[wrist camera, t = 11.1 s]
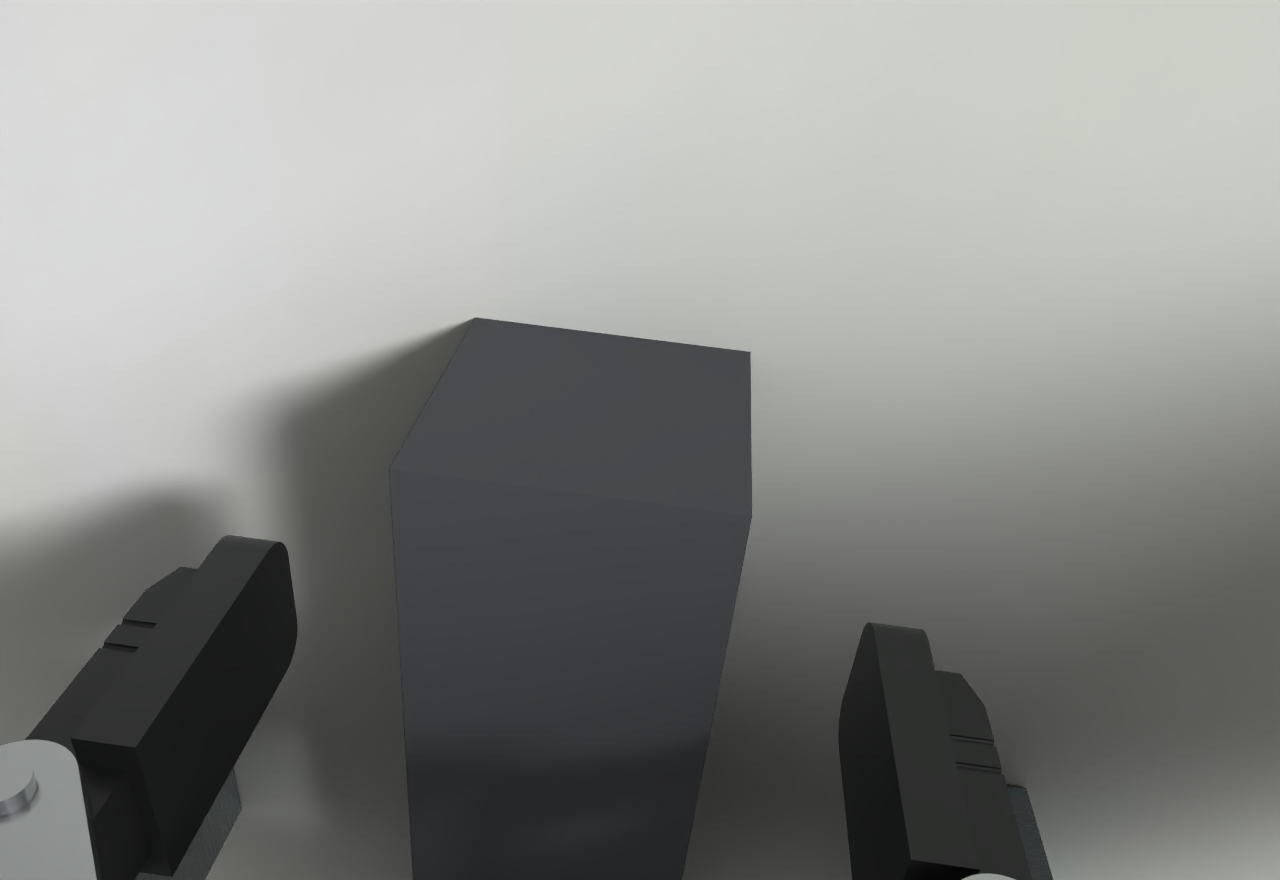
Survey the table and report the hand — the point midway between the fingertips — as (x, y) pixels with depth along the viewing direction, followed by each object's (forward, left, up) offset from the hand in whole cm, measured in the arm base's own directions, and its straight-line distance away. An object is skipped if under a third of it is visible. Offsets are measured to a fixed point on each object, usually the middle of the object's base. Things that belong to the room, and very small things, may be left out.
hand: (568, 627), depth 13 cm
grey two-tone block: (0, +7, -3) cm, 7 cm away
